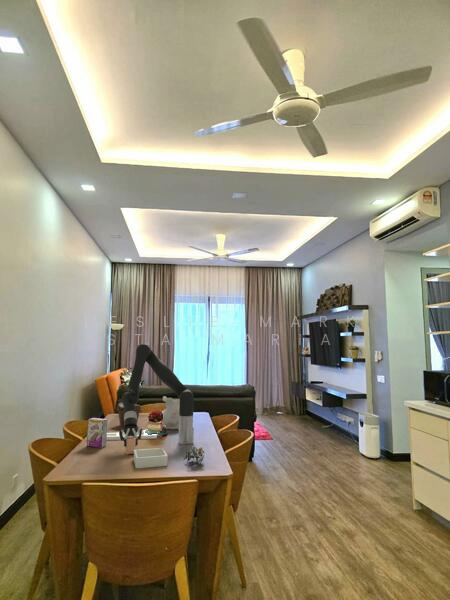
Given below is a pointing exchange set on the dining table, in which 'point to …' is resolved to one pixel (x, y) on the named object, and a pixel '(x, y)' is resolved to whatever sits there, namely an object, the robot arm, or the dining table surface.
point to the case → (122, 412)
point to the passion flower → (195, 455)
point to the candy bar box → (97, 432)
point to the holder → (117, 437)
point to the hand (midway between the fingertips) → (131, 445)
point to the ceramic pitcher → (171, 413)
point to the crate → (150, 458)
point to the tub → (130, 445)
